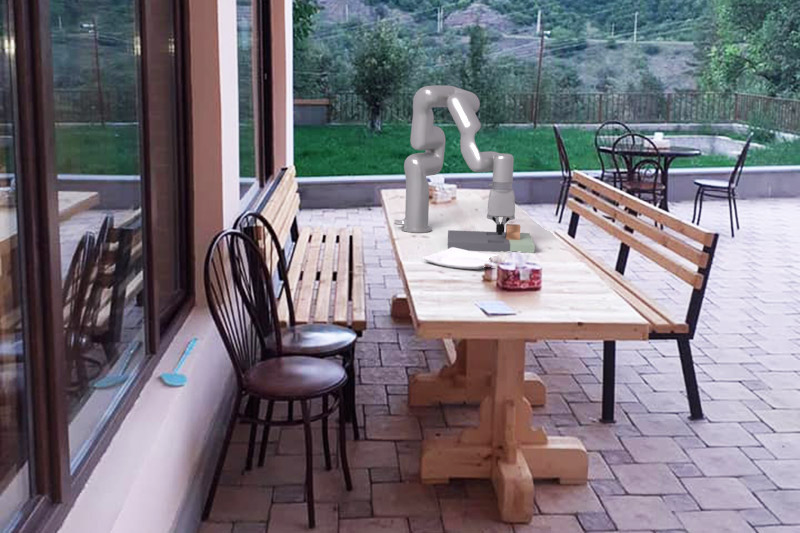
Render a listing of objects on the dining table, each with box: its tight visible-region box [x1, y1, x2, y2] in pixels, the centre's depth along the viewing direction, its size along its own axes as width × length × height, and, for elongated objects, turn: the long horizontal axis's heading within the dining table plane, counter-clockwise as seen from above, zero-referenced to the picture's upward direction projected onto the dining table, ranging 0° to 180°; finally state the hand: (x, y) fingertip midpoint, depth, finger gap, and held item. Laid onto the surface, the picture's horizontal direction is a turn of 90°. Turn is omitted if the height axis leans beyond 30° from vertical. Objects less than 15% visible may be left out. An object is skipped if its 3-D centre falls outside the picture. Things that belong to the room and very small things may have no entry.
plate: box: [421, 247, 500, 270], centre depth 316 cm, size 24×24×3 cm
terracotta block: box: [505, 223, 521, 240], centre depth 346 cm, size 5×5×5 cm
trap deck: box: [447, 229, 536, 254], centre depth 347 cm, size 32×24×3 cm
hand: (500, 234), depth 346 cm, fingers closed
